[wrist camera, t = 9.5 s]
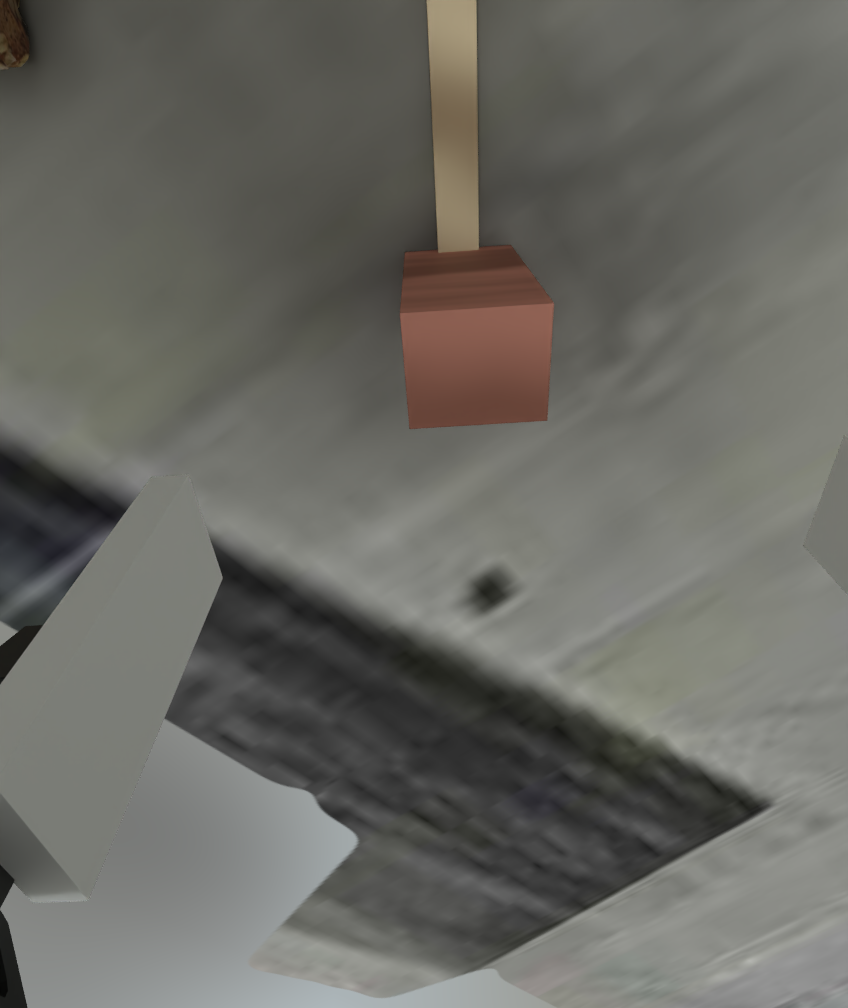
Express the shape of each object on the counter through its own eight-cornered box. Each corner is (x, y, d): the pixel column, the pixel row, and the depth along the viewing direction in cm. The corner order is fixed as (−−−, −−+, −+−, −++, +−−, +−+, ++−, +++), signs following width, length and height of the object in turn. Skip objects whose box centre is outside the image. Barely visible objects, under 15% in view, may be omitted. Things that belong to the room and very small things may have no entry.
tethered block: (338, -361, 17) (267, -799, 9) (542, -381, 17) (659, -844, 9) (399, 339, 29) (392, 430, 21) (521, 331, 29) (564, 419, 20)
